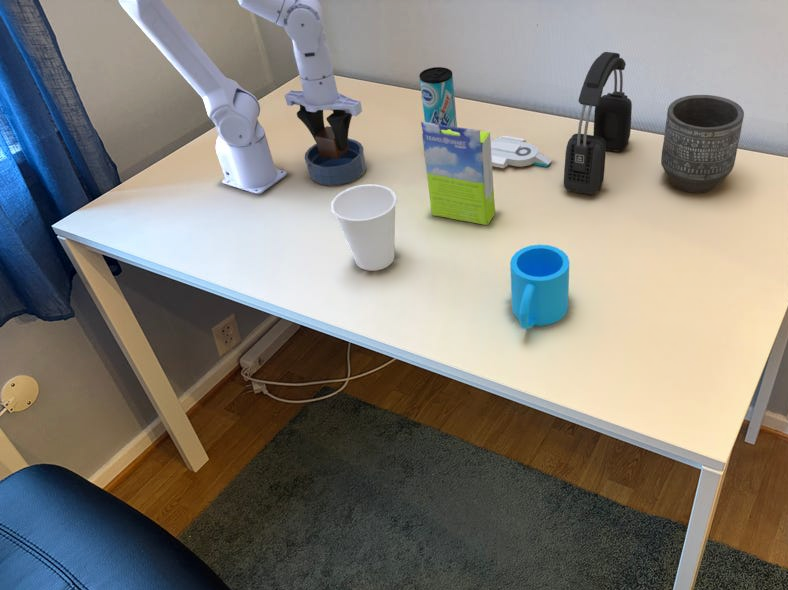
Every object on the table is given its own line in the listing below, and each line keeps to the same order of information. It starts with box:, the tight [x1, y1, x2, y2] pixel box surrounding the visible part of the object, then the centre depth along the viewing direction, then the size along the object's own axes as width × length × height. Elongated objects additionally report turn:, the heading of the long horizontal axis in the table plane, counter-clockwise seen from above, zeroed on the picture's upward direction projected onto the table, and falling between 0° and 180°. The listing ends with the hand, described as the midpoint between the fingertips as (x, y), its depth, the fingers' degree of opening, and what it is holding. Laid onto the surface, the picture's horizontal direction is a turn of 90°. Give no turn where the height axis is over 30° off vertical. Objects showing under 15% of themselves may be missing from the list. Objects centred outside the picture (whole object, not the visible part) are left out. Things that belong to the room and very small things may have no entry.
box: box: [420, 121, 496, 226], centre depth 119 cm, size 10×4×17 cm, turn 68°
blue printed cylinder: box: [418, 66, 458, 127], centre depth 135 cm, size 6×6×15 cm
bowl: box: [304, 138, 367, 187], centre depth 136 cm, size 11×11×4 cm
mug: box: [509, 244, 570, 330], centre depth 103 cm, size 12×8×8 cm
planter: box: [660, 94, 745, 194], centre depth 124 cm, size 12×12×13 cm
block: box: [314, 125, 349, 160], centre depth 133 cm, size 4×4×4 cm
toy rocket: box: [490, 135, 552, 169], centre depth 136 cm, size 16×10×2 cm, turn 63°
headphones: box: [563, 51, 633, 195], centre depth 126 cm, size 22×6×20 cm, turn 155°
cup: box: [330, 183, 398, 272], centre depth 113 cm, size 10×10×11 cm
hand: (332, 146), depth 134 cm, fingers closed on block, 4 cm apart
